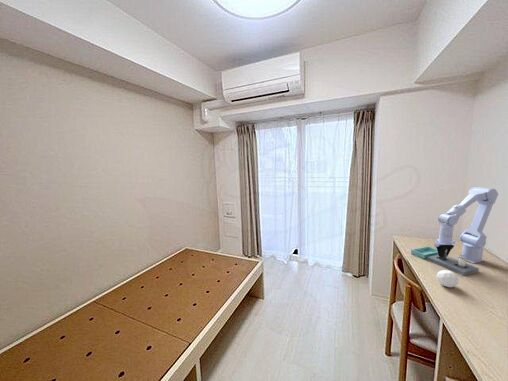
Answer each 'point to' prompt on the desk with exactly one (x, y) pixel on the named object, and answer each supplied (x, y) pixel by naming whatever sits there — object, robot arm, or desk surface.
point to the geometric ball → (447, 278)
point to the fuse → (461, 261)
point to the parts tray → (424, 252)
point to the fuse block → (453, 265)
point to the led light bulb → (444, 256)
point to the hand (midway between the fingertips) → (443, 256)
